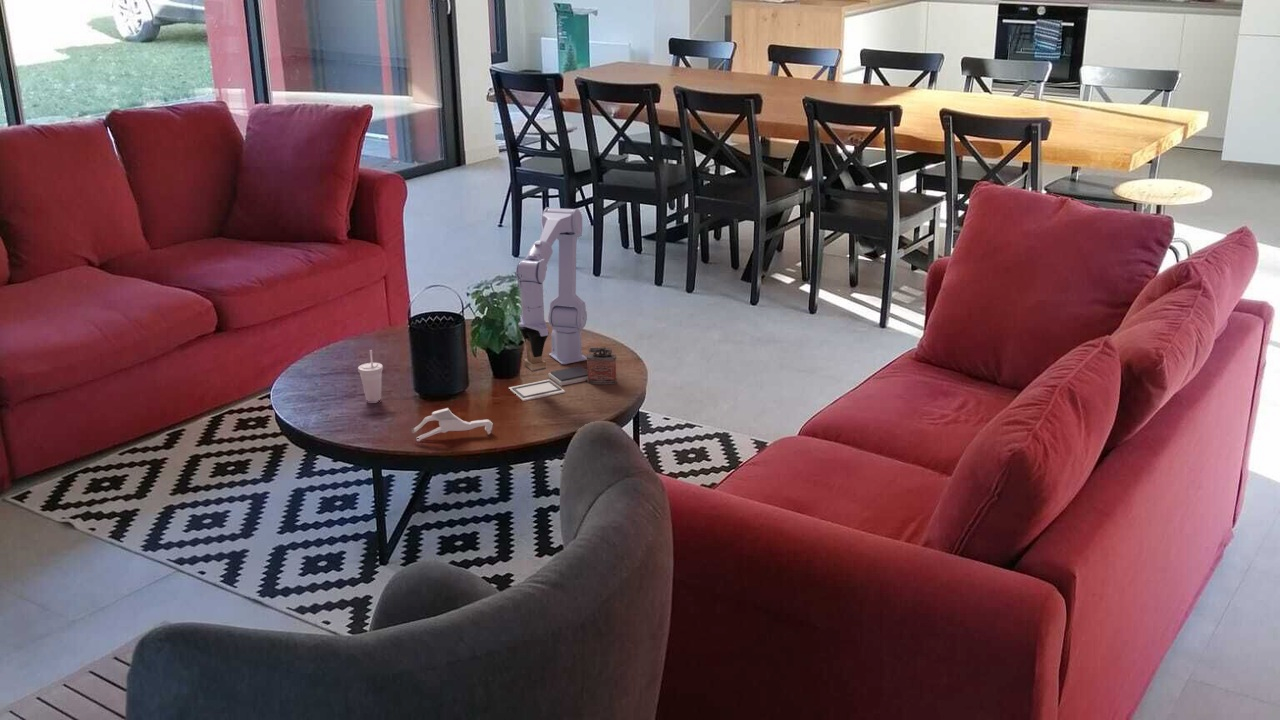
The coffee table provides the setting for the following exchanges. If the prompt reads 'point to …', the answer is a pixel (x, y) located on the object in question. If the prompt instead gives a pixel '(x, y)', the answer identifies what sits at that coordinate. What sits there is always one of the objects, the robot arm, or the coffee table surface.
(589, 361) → the lighter
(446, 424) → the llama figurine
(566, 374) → the ink pad
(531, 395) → the marked card
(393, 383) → the coffee table surface
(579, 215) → the robot arm
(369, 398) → the smoothie
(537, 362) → the stamp
